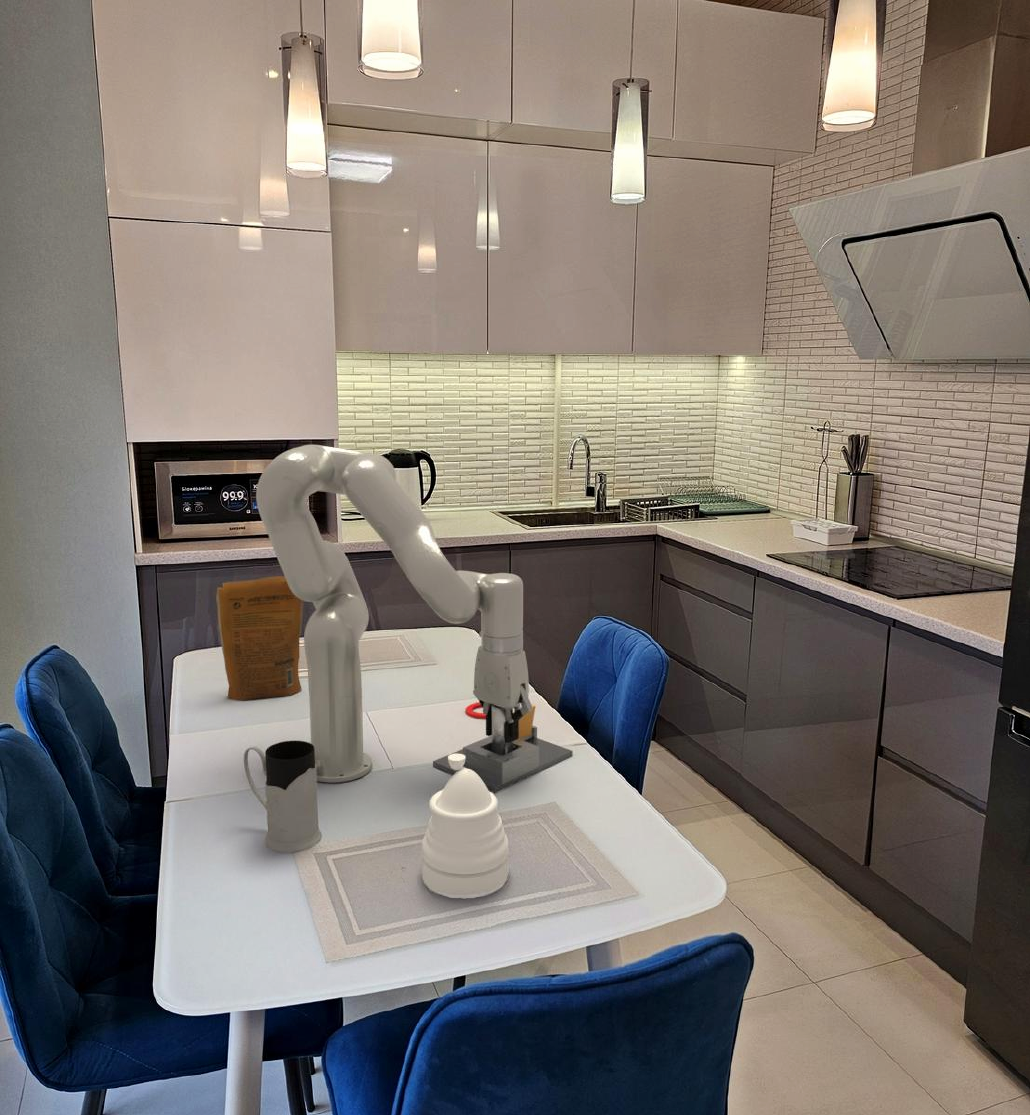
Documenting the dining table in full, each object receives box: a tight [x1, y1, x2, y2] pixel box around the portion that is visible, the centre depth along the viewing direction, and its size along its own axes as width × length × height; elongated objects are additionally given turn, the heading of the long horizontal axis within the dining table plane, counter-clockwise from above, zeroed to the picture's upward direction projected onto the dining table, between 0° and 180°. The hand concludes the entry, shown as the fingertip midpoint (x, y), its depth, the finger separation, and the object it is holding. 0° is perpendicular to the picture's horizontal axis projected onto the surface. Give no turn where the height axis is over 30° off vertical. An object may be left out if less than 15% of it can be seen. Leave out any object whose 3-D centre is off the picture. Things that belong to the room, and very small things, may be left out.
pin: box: [491, 704, 514, 756], centre depth 166 cm, size 4×4×11 cm
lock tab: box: [513, 703, 536, 741], centre depth 177 cm, size 8×1×8 cm, turn 138°
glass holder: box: [243, 740, 323, 854], centre depth 144 cm, size 9×14×15 cm, turn 61°
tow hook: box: [465, 701, 486, 720], centre depth 197 cm, size 8×13×9 cm
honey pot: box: [421, 753, 510, 895], centre depth 132 cm, size 13×13×18 cm
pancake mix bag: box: [215, 575, 304, 702], centre depth 203 cm, size 7×19×28 cm, turn 110°
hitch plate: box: [432, 724, 573, 794], centre depth 173 cm, size 22×16×5 cm
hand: (502, 736), depth 167 cm, fingers closed on pin, 4 cm apart
